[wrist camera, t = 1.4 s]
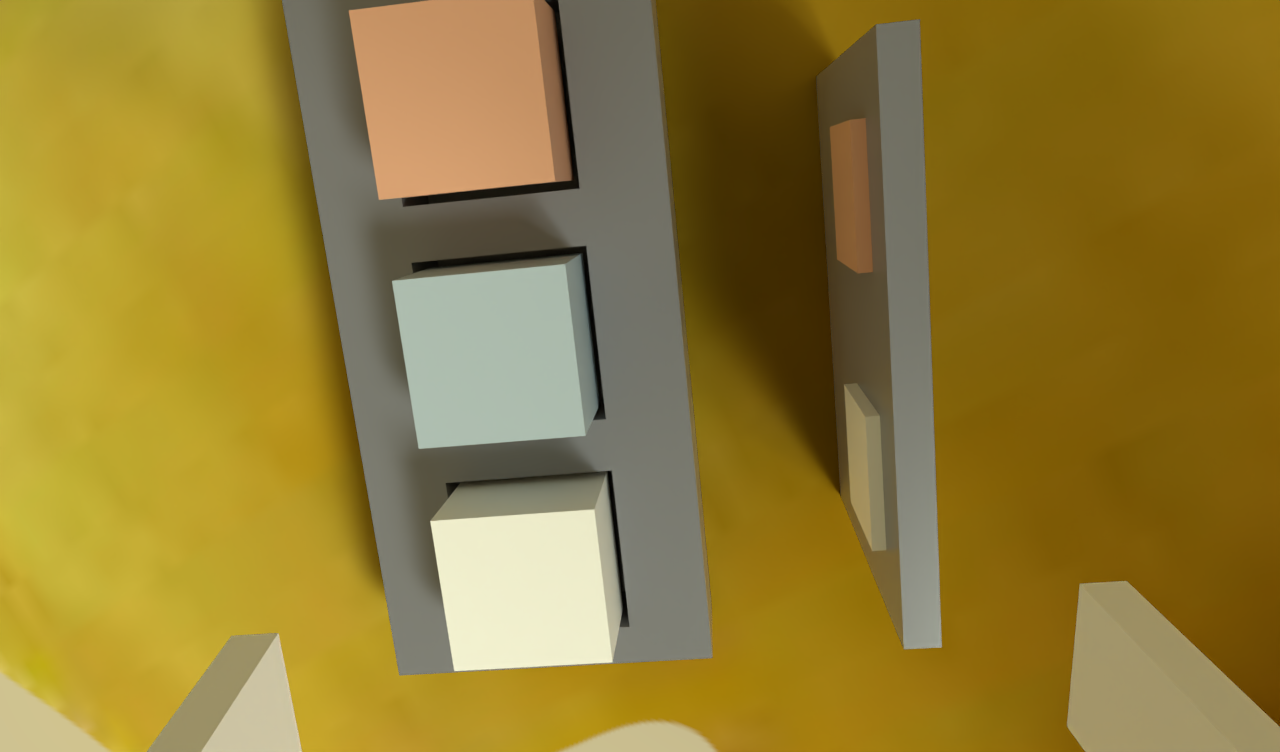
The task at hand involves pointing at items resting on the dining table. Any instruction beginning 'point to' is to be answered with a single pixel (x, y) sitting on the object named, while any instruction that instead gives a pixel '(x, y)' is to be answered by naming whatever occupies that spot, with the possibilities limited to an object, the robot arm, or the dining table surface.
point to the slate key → (498, 351)
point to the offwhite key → (529, 571)
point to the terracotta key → (462, 95)
